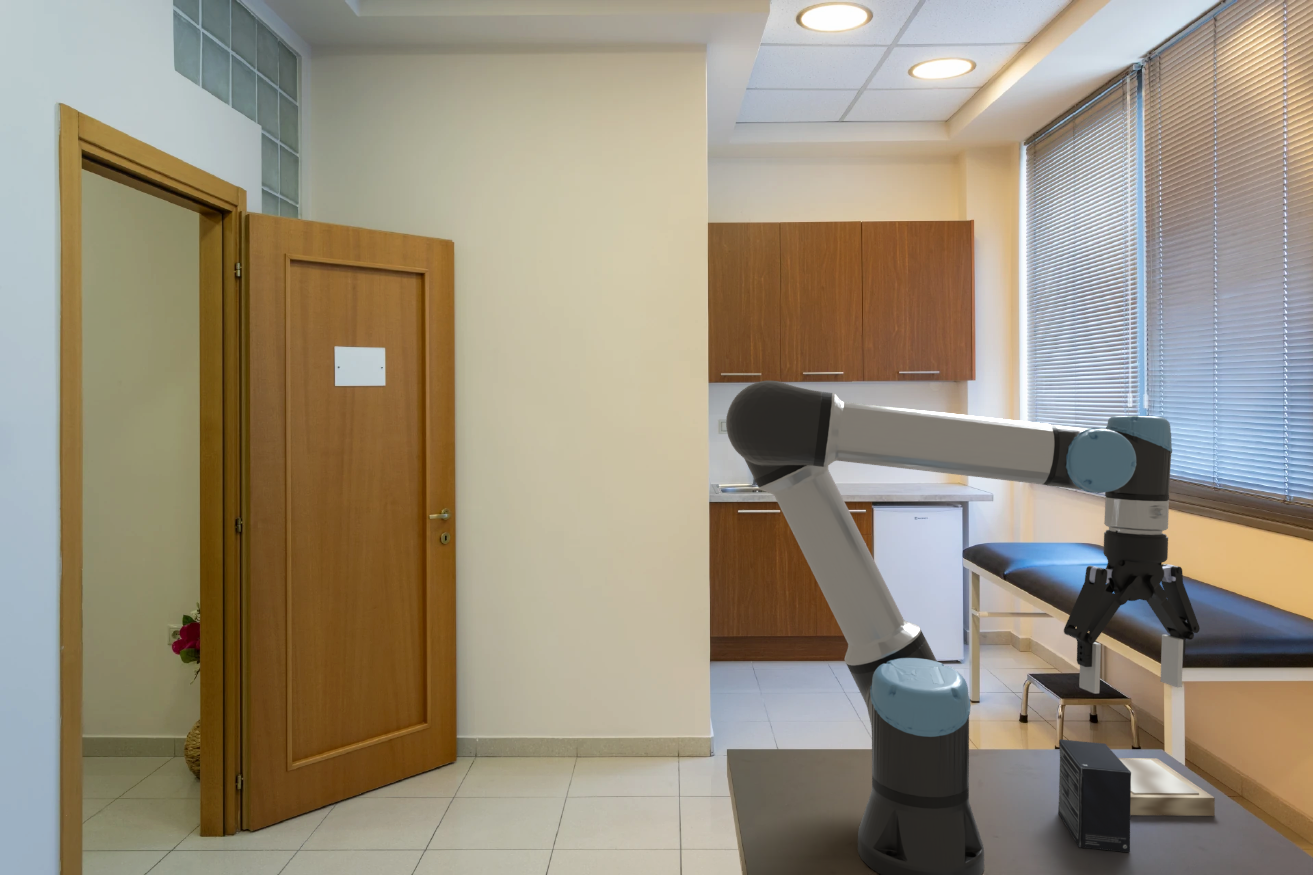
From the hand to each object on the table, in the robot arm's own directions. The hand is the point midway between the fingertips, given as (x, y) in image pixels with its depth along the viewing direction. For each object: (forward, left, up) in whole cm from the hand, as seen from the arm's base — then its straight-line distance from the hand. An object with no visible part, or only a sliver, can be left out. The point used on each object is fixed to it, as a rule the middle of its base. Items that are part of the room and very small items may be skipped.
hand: (1130, 687), depth 113 cm
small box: (-6, -2, -19) cm, 20 cm away
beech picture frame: (+7, +10, -19) cm, 22 cm away
